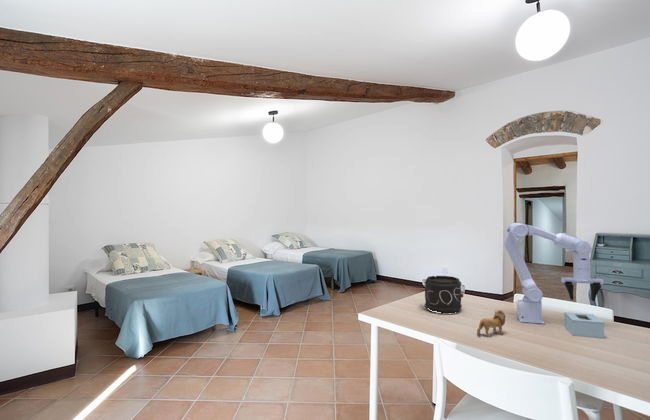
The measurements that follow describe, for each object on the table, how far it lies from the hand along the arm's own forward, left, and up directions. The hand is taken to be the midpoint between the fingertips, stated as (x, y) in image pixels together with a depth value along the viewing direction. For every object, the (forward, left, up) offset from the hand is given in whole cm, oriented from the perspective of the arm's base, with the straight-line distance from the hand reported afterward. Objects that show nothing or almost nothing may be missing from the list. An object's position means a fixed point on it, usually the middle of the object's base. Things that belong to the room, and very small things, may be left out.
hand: (582, 299), depth 147 cm
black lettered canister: (-56, +5, -11) cm, 58 cm away
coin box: (-3, -11, -10) cm, 15 cm away
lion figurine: (-38, -25, -11) cm, 46 cm away
